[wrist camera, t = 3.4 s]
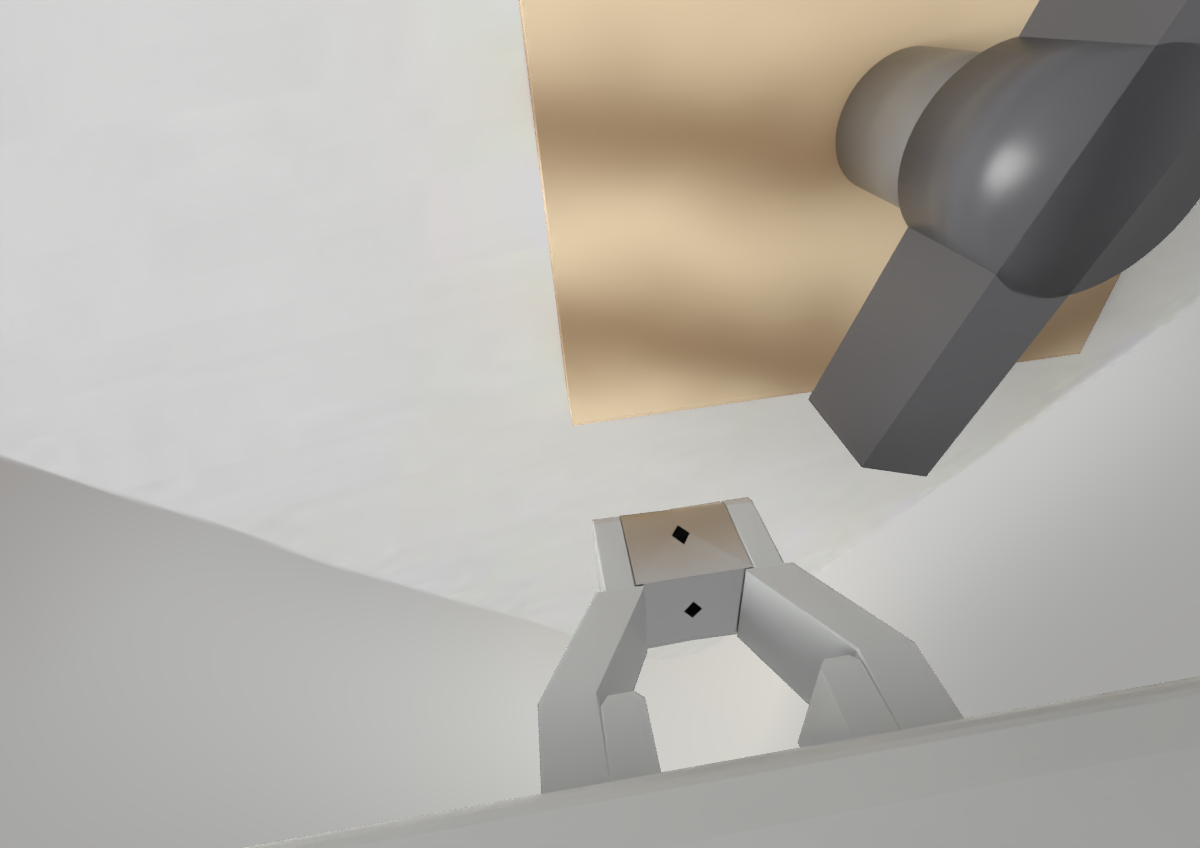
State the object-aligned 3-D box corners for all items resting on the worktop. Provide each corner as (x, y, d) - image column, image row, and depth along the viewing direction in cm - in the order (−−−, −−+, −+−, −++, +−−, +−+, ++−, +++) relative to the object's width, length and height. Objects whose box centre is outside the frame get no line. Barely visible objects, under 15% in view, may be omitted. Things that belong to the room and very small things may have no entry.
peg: (1005, -286, 11) (1463, -544, 6) (1305, -90, 14) (1804, -148, 9) (728, 330, 19) (820, 461, 14) (959, 378, 22) (1111, 503, 16)
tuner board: (476, -347, 11) (472, -410, 10) (1360, -380, 13) (1497, -441, 11) (567, 395, 22) (573, 428, 20) (1040, 330, 24) (1083, 355, 22)
